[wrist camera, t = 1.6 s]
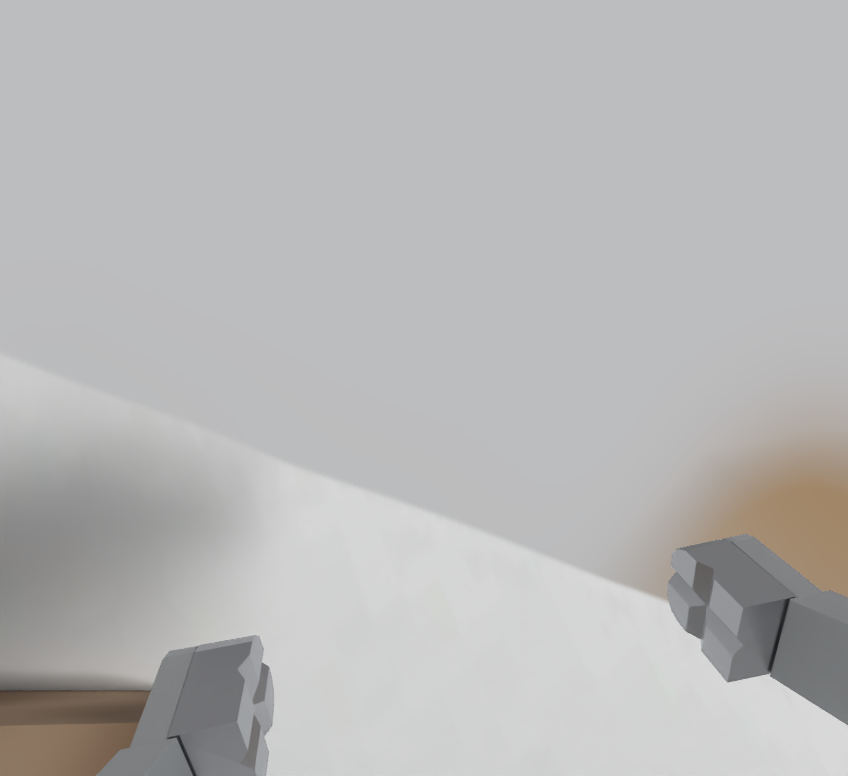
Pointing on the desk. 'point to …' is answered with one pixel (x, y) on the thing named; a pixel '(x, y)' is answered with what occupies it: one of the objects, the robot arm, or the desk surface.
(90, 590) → the desk surface
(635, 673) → the desk surface
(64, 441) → the desk surface
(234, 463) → the desk surface
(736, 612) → the robot arm
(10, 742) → the trap lane
